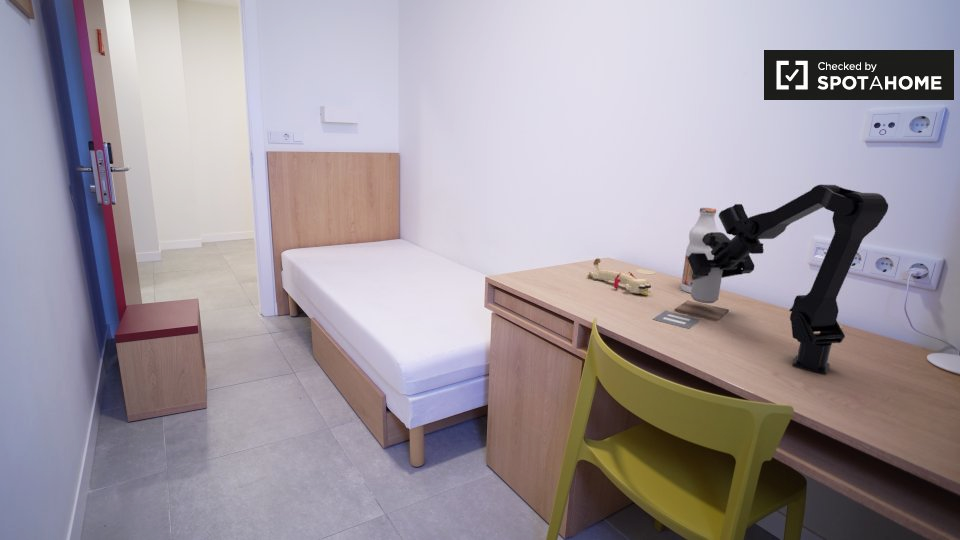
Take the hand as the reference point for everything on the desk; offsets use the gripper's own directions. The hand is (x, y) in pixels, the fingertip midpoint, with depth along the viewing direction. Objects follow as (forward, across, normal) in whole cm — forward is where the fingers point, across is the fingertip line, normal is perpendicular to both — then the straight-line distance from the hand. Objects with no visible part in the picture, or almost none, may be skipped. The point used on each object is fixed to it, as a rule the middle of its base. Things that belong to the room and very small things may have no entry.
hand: (703, 277), depth 145 cm
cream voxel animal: (+26, +12, -11) cm, 30 cm away
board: (+6, 0, +8) cm, 10 cm away
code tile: (+3, +12, +12) cm, 17 cm away
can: (+4, 0, +6) cm, 7 cm away
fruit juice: (+20, -12, -6) cm, 24 cm away
